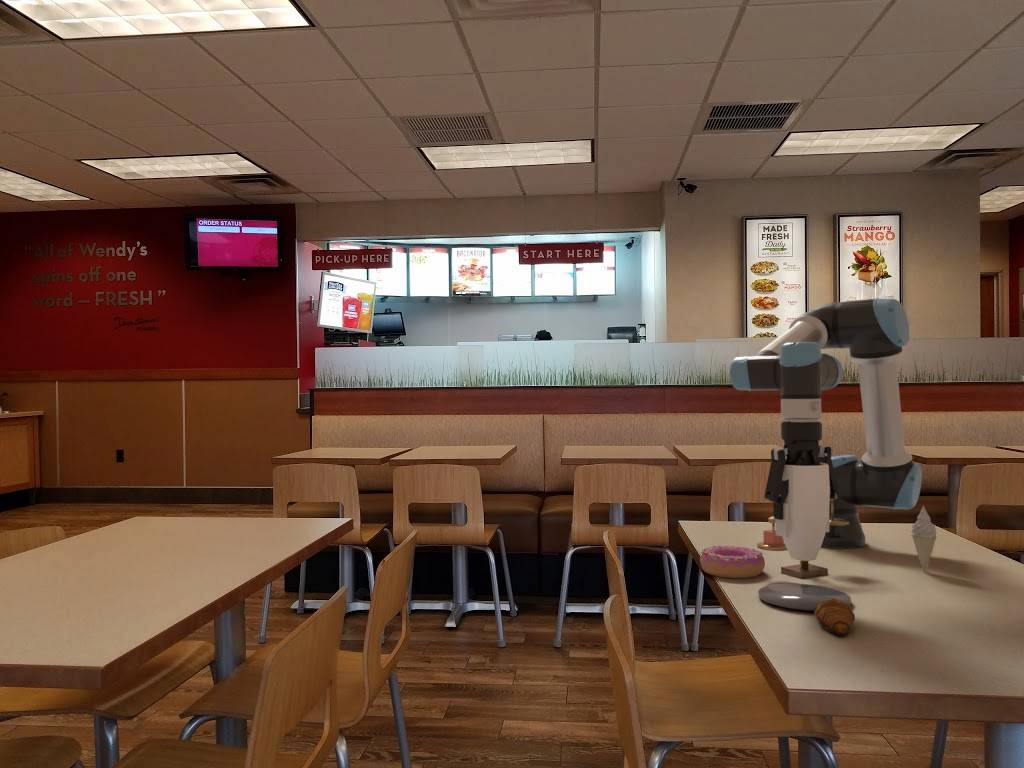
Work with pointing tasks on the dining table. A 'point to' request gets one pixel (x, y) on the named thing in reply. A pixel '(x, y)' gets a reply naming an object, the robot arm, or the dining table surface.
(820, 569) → the balance
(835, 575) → the dining table surface
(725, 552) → the donut
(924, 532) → the ice cream cone
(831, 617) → the croissant
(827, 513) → the cup
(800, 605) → the grey flat disc
